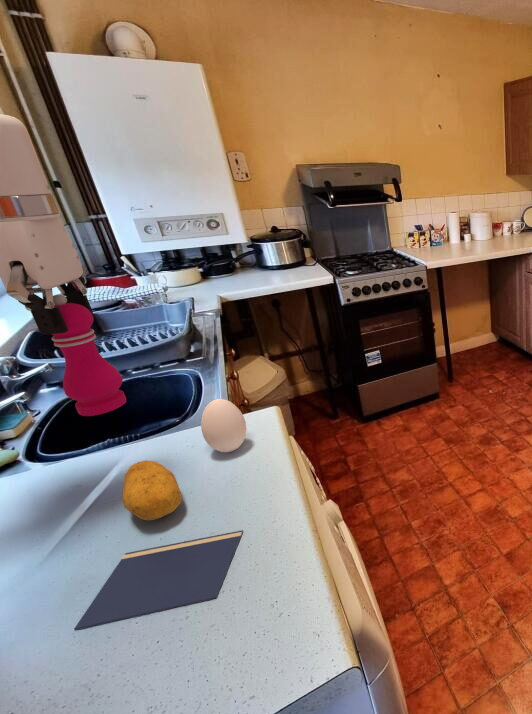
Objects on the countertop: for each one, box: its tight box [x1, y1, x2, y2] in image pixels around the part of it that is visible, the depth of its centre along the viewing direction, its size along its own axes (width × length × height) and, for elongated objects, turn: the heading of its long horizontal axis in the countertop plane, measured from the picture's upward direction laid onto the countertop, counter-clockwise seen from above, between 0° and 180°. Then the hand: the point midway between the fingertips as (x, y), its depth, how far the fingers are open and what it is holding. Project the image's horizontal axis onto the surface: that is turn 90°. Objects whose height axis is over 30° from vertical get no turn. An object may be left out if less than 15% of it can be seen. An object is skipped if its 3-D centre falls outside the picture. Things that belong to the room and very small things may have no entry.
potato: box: [121, 460, 183, 521], centre depth 74 cm, size 7×14×7 cm, turn 45°
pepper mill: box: [51, 294, 127, 417], centre depth 71 cm, size 7×7×20 cm
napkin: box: [73, 529, 244, 631], centre depth 62 cm, size 16×12×1 cm
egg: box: [200, 398, 247, 453], centre depth 88 cm, size 7×7×12 cm
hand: (69, 325), depth 69 cm, fingers closed on pepper mill, 6 cm apart
